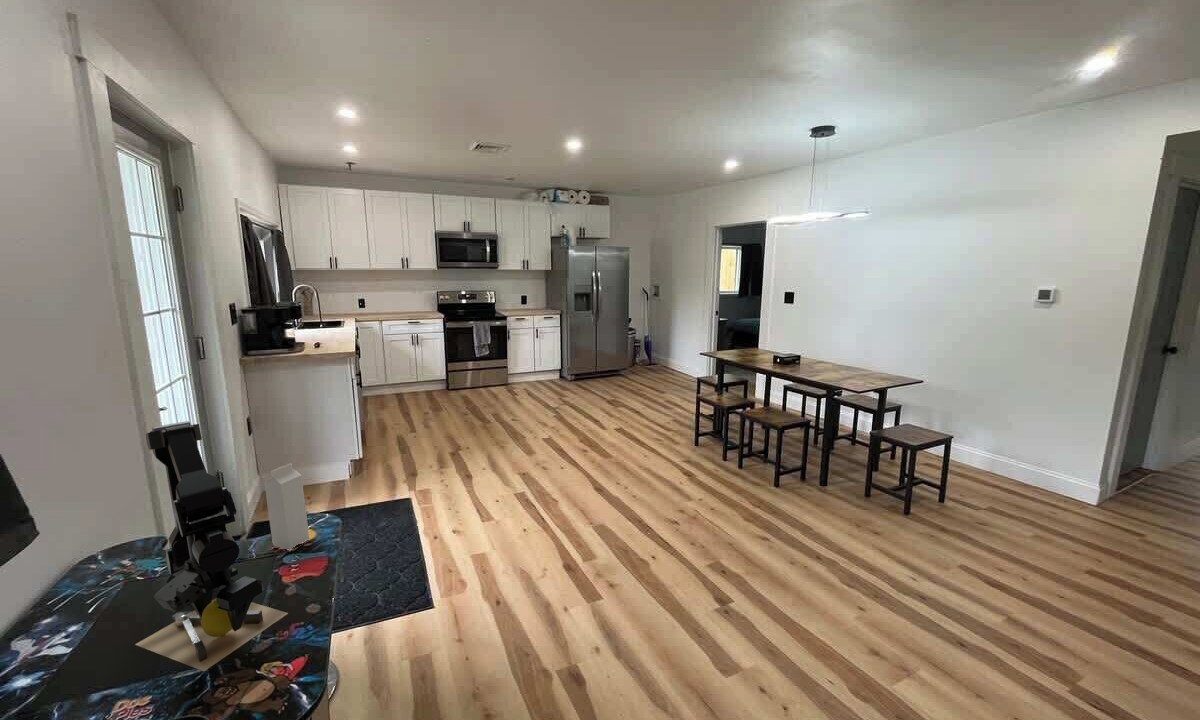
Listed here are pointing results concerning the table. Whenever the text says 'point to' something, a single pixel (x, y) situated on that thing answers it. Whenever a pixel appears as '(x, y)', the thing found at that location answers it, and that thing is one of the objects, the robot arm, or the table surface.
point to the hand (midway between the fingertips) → (221, 624)
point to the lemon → (215, 620)
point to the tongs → (188, 620)
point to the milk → (286, 507)
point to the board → (207, 640)
